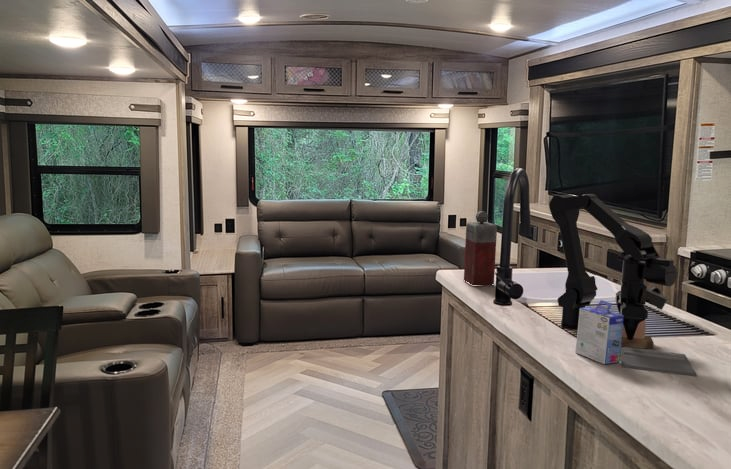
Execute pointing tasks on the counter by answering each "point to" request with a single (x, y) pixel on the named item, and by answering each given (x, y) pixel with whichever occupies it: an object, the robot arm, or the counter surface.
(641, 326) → the tile
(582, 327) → the ink cartridge box
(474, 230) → the square decanter
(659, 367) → the mat
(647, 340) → the stand
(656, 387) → the counter surface
